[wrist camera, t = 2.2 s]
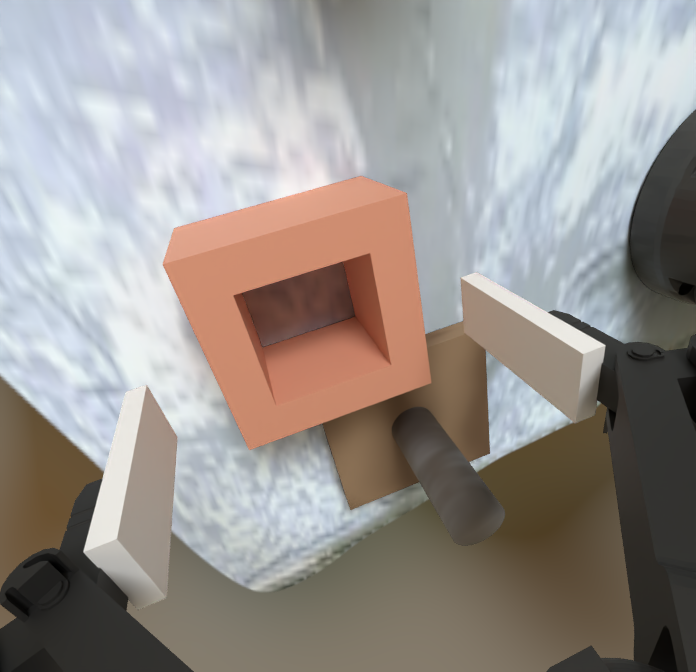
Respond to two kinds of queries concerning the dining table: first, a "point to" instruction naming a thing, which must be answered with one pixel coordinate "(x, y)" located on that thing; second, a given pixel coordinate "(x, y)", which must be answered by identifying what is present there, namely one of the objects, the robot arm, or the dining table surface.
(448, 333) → the post stand
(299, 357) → the collar
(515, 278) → the dining table surface
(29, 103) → the dining table surface
